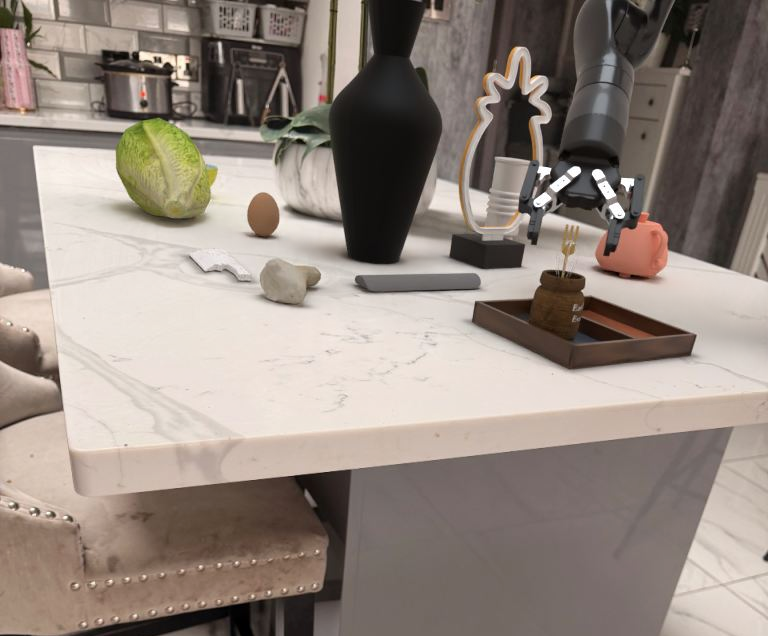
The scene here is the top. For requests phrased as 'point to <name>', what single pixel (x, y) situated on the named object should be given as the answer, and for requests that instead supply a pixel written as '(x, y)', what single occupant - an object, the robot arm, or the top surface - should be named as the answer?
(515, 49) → the lamp
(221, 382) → the top surface
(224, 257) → the white flat piece
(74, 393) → the top surface
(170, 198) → the lettuce
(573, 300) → the utensil holder
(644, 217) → the pink rounded pot
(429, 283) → the half round rod
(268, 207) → the egg
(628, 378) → the top surface
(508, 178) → the white ribbed cup
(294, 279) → the stone
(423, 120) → the vase
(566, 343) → the sorting tray
